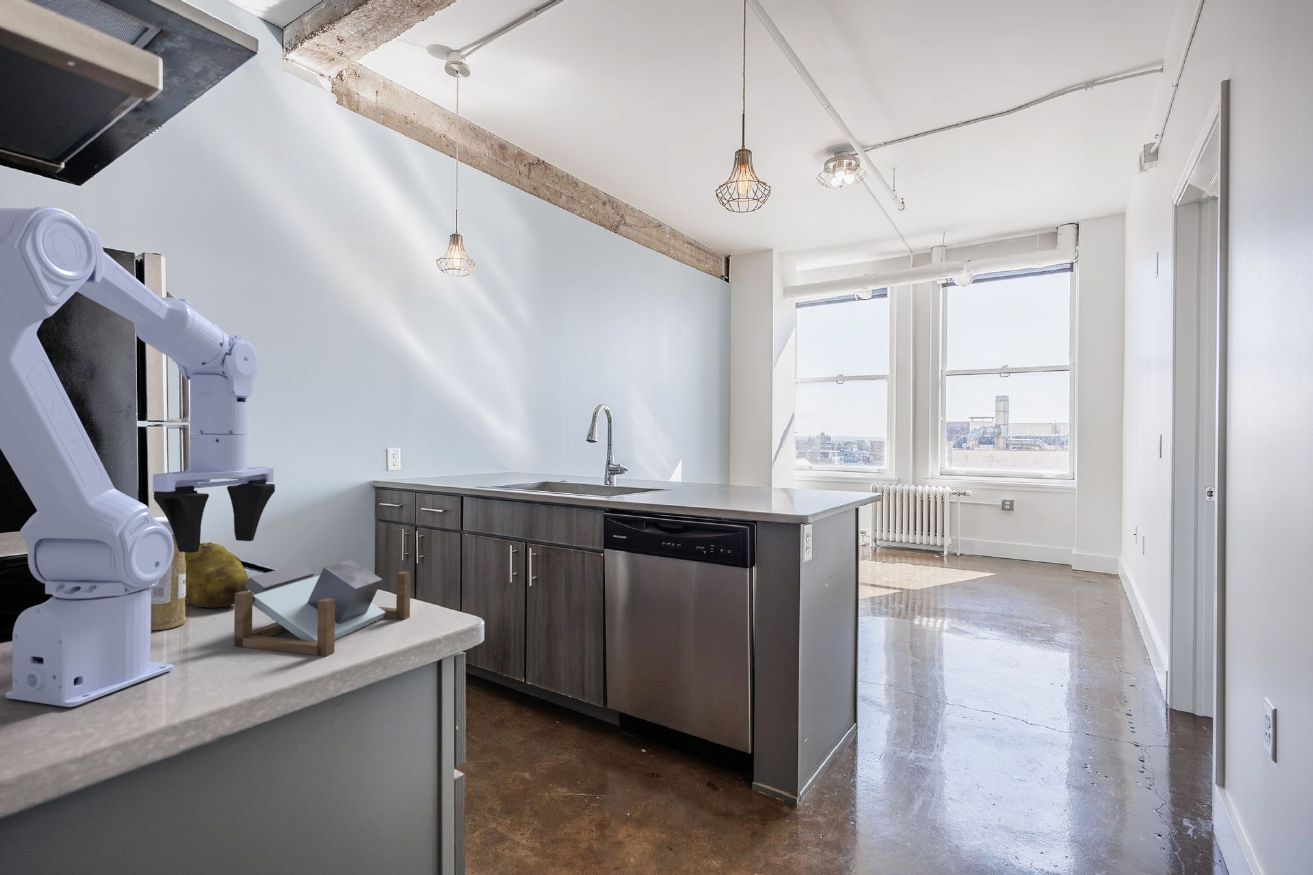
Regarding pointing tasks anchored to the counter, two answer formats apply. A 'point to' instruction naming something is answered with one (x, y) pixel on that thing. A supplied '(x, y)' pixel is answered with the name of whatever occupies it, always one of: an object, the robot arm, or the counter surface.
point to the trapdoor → (299, 602)
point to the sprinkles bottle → (169, 591)
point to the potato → (213, 576)
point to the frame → (324, 631)
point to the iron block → (346, 589)
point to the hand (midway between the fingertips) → (218, 545)
